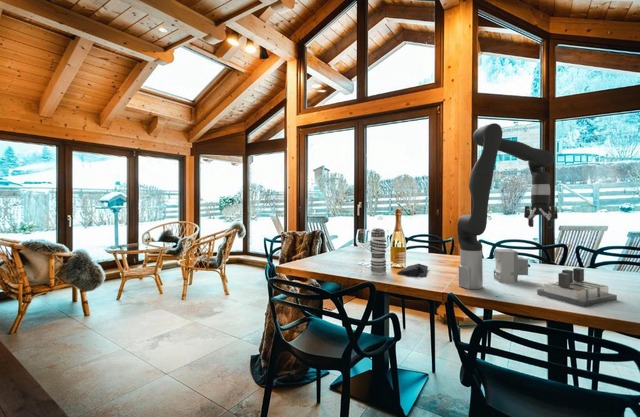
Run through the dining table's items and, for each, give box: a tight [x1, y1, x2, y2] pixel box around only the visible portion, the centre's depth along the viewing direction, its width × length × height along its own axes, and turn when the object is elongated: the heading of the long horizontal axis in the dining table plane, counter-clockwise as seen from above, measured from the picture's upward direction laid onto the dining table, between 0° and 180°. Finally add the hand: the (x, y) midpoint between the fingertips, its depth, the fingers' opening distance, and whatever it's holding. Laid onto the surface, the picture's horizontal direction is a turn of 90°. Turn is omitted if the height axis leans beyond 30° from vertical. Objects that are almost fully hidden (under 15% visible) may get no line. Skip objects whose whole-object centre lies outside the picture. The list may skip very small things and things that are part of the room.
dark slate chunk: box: [396, 263, 429, 278], centre depth 175 cm, size 15×22×5 cm
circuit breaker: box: [493, 248, 531, 284], centre depth 153 cm, size 8×14×15 cm, turn 78°
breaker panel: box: [536, 267, 618, 308], centre depth 126 cm, size 20×17×10 cm
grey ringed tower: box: [369, 227, 387, 276], centre depth 175 cm, size 9×9×25 cm
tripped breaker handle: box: [557, 272, 570, 287], centre depth 123 cm, size 3×2×5 cm
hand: (540, 227), depth 151 cm, fingers open, 8 cm apart
